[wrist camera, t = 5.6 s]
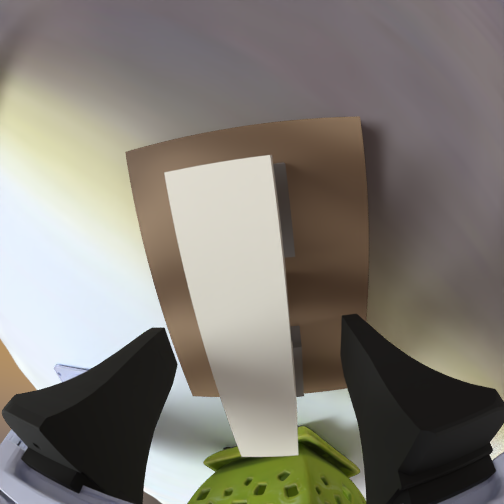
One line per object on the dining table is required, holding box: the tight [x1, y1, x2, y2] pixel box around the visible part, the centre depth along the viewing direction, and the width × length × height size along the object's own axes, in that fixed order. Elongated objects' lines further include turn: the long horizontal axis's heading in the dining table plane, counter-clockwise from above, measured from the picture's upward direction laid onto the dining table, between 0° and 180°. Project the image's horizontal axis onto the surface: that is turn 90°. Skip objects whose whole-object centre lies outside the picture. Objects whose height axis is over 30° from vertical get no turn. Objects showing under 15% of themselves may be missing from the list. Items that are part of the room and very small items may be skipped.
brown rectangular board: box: [126, 117, 369, 397], centre depth 14 cm, size 17×12×5 cm
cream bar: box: [164, 155, 298, 457], centre depth 12 cm, size 14×3×4 cm, turn 8°
